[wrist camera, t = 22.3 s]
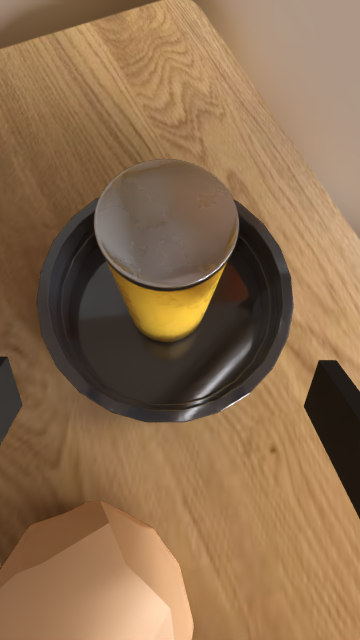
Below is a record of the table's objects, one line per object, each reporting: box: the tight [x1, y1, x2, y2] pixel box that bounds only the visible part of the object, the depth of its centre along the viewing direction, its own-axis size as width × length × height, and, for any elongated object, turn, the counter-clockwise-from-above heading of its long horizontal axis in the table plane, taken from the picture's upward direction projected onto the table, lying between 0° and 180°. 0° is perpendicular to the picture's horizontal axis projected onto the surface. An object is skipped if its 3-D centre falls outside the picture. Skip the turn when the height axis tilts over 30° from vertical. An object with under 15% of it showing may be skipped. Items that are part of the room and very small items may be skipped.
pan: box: [37, 197, 293, 422], centre depth 25 cm, size 19×19×4 cm
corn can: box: [94, 159, 239, 342], centre depth 20 cm, size 6×6×13 cm
